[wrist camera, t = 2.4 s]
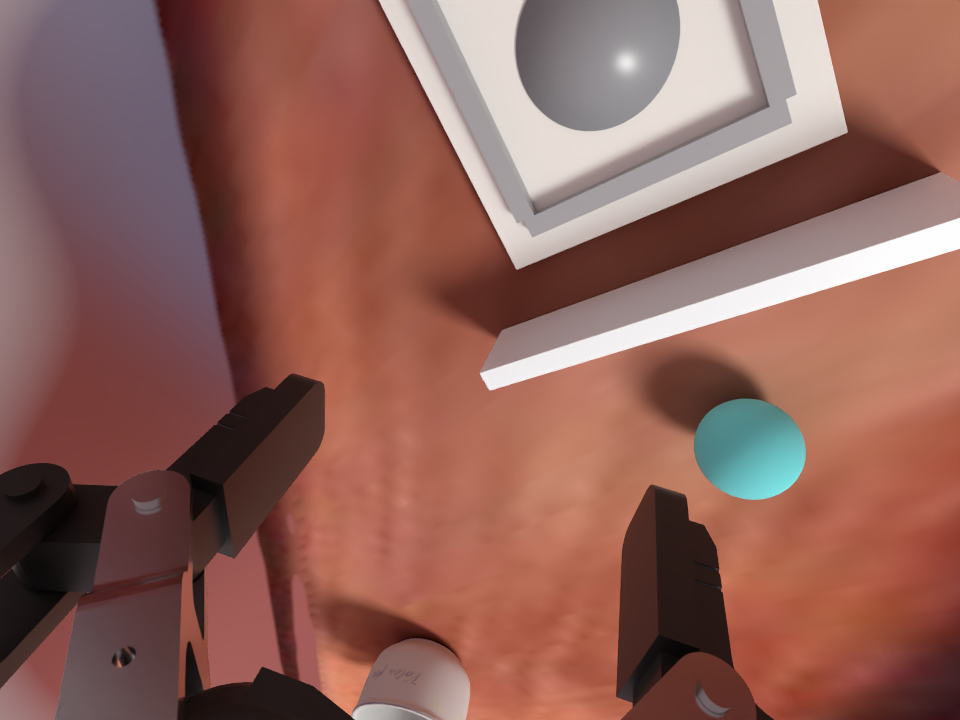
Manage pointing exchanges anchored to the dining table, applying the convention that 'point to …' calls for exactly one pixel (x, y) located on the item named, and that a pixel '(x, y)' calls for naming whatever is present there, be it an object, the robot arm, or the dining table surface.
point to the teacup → (415, 684)
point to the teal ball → (749, 449)
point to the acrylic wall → (738, 280)
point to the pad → (615, 102)
